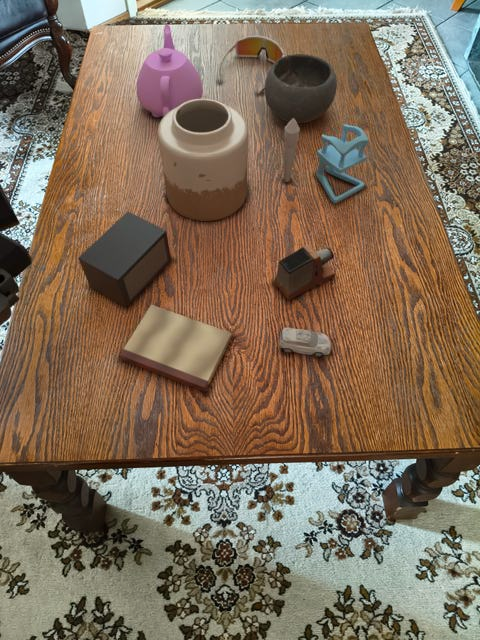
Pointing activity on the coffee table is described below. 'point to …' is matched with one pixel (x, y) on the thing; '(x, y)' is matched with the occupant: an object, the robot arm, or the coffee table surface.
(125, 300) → the block
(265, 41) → the sunglasses
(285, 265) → the electronic device
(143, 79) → the teapot
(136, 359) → the notebook
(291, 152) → the grey pointed post
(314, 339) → the toy car
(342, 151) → the blue-grey angular frame piece
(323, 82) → the bowl
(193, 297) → the coffee table surface
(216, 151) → the vase
